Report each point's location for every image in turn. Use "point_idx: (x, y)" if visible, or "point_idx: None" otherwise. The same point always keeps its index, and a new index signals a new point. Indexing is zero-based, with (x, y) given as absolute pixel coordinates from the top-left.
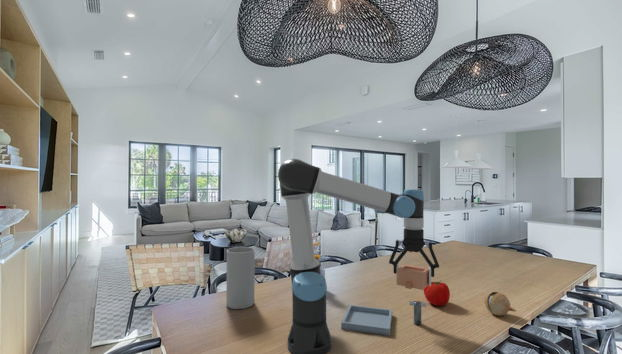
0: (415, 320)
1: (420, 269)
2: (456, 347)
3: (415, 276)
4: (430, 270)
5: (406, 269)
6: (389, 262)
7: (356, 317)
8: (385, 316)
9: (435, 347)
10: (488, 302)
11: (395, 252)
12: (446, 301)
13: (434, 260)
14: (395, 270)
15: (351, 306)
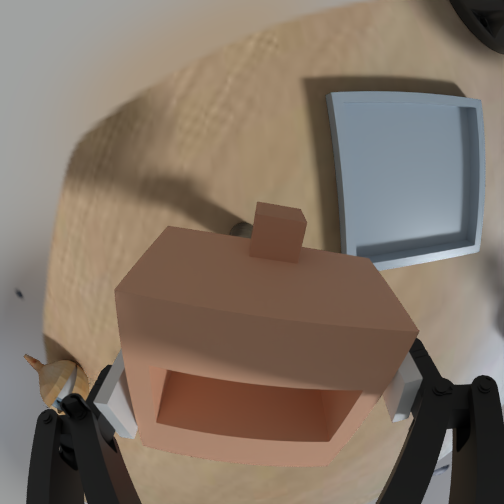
0: (249, 229)
1: (198, 423)
2: (107, 122)
3: (209, 281)
4: (102, 394)
5: (319, 372)
6: (492, 380)
7: (450, 187)
8: (364, 235)
9: (163, 84)
10: (73, 385)
11: (483, 496)
12: None
13: (46, 459)
14: (412, 354)
15: (473, 244)
